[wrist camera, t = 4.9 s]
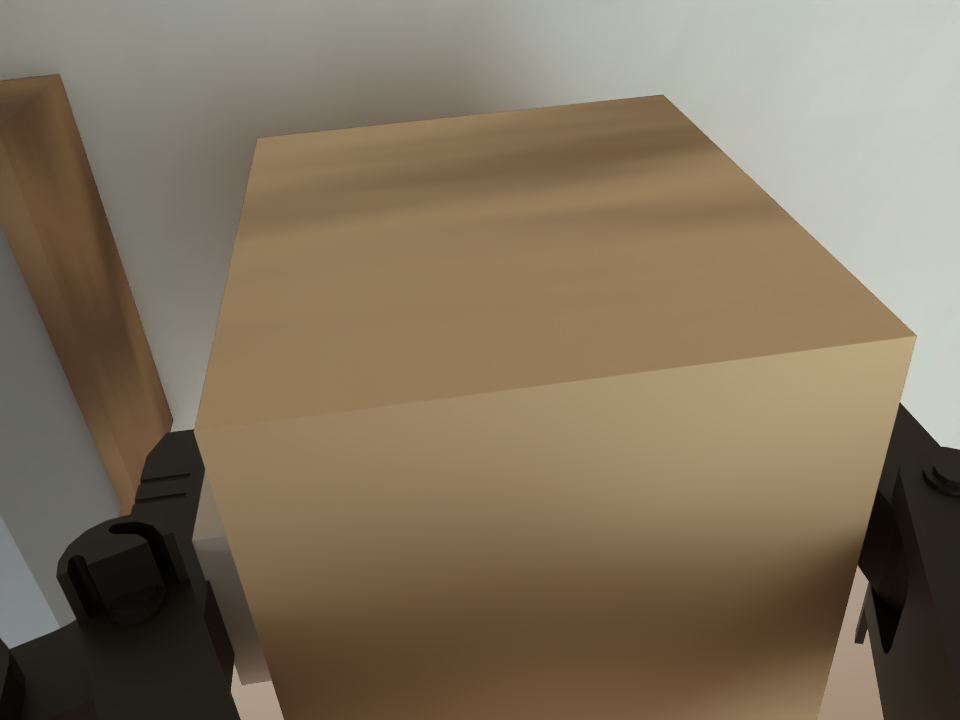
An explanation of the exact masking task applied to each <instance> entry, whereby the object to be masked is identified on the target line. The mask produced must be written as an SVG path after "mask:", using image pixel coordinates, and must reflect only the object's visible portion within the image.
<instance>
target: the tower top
mask: <svg viewBox="0 0 960 720" xmlns="http://www.w3.org/2000/svg"><path fill="white" fill-rule="evenodd" d="M121 507H122V506H121V503H120V501H119V499H118V496H117V494H116V492H115V489H114V487H113V485H112V482H111V480H110V478H109V475H108V473H107V471H106V468H105V466H104V464H103V461H102V459H101V457H100V454H99V452H98V450H97V447H96V445H95V443H94V440H93V438H92V436H91V433H90V431H89V429H88V426H87V424H86V422H85V419H84V417H83V414H82V412H81V410H80V407H79V405H78V403H77V400H76V398H75V396H74V393H73V391H72V389H71V386H70V384H69V382H68V379H67V377H66V375H65V372H64V370H63V368H62V365H61V363H60V361H59V358H58V356H57V354H56V351H55V349H54V347H53V344H52V342H51V340H50V337H49V335H48V333H47V330H46V328H45V326H44V323H43V321H42V319H41V316H40V314H39V312H38V309H37V307H36V305H35V302H34V300H33V298H32V295H31V293H30V291H29V288H28V286H27V284H26V281H25V279H24V276H23V274H22V272H21V269H20V267H19V265H18V262H17V260H16V258H15V255H14V253H13V251H12V248H11V246H10V244H9V241H8V239H7V237H6V234H5V232H4V230H3V227H2V225H1V223H0V638H1V639H2V641H3V642H4V643H5V644H6V645H7V646H8V648H9V649H11V648H13V647H16V646H18V645H21V644H23V643H26V642H28V641H31V640H33V639H36V638H38V637H41V636H43V635H46V634H48V633H51V632H53V631H55V630H57V629H59V628H62V627H64V626H66V625H68V624H70V623H71V622H73V621H74V620H76V617H75V615H74V613H73V611H72V609H71V607H70V605H69V603H68V601H67V599H66V597H65V595H64V592H63V590H62V588H61V586H60V584H59V582H58V580H57V578H56V574H57V566H58V561H59V559H60V558H61V556H62V554H63V553H64V551H65V550H66V548H67V547H68V545H69V544H70V543H72V542H73V541H74V540H75V539H76V538H78V537H79V536H80V535H81V534H82V533H84V532H85V531H86V530H88V529H90V528H92V527H94V526H96V525H98V524H100V523H102V522H104V521H106V520H109V519H113V518H117V517H118V516H119V513H120V510H121Z"/></svg>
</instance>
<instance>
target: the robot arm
mask: <svg viewBox="0 0 960 720" xmlns="http://www.w3.org/2000/svg"><path fill="white" fill-rule="evenodd" d="M134 500H135V505H133V507H132V510H131V514H130V515H126V516H122V517H117V518H113V519H109V520H106V521H104V522H102V523H100V524H98V525H96V526H94V527H92V528H90V529H88V530H86V531H85V532H84V533H82V534H81V535H80V536H79V537H78V538H76V539H75V540H74V541H73V542H72V543H70V544H69V545H68V547H67V548H66V550H65V551H64V553H63V554H62V556H61V558H60V559H59V561H58V566H57V574H56V578H57V580H58V582H59V584H60V586H61V588H62V590H63V592H64V595H65V597H66V599H67V601H68V603H69V605H70V607H71V609H72V611H73V613H74V615H75V617H76V620H74V621H73V622H71V623H70V624H68V625H66V626H64V627H62V628H59V629H57V630H55V631H53V632H51V633H48V634H46V635H43V636H41V637H38V638H36V639H33V640H31V641H28V642H26V643H23V644H21V645H18V646H16V647H13V648H11V649H9V648H8V646H7V645H6V644H5V643H4V642H3V641H2V639H1V638H0V720H241V719H240V717H239V714H238V711H237V708H236V706H235V703H234V700H233V697H232V694H231V683H232V675H233V666H234V664H235V667H236V669H237V672H238V675H239V678H240V681H241V684H242V685H246V684H252V683H259V682H265V681H272V679H271V676H270V673H269V670H268V666H267V663H266V660H265V657H264V654H263V650H262V647H261V644H260V641H259V638H258V635H257V631H256V628H255V625H254V622H253V619H252V616H251V612H250V609H249V606H248V603H247V600H246V597H245V593H244V590H243V587H242V584H241V581H240V577H239V574H238V571H237V568H236V565H235V562H234V558H233V555H232V552H231V549H230V546H229V543H228V539H227V536H226V533H225V530H224V527H223V524H222V520H221V517H220V514H219V511H218V508H217V504H216V501H215V498H214V495H213V492H212V489H211V485H210V482H209V479H208V476H207V473H206V470H205V466H204V463H203V460H202V457H201V454H200V451H199V447H198V444H197V441H196V438H195V435H194V429H192V430H185V431H177V432H170V433H166V434H165V435H164V436H163V437H162V439H161V440H160V441H159V442H158V443H157V444H156V446H155V447H154V448H153V449H152V450H151V452H150V453H149V454H148V455H147V457H146V460H145V464H144V467H143V471H142V475H141V478H140V485H138V489H137V492H136V496H135V499H134ZM858 566H859V568H860V569H861V571H862V572H863V574H864V575H865V576H866V578H867V579H868V581H869V583H868V587H867V591H866V594H865V598H864V602H863V606H862V609H861V613H860V617H859V621H858V624H857V628H856V635H855V643H859V644H863V642H864V638H865V635H866V631H867V629H868V632H869V637H870V643H871V648H872V654H873V660H874V666H875V671H876V677H877V682H878V688H879V694H880V700H881V705H882V711H883V717H884V720H960V450H958V449H953V448H948V447H941V446H940V445H939V444H938V443H937V442H936V441H935V440H934V439H933V438H932V437H931V435H930V434H929V433H928V432H927V431H926V430H925V429H924V428H923V427H922V426H921V425H920V424H919V422H918V421H917V420H916V419H915V418H914V417H913V416H912V415H911V414H910V413H909V412H908V411H907V409H906V408H905V407H904V406H903V405H902V404H901V403H899V407H898V411H897V415H896V419H895V422H894V426H893V430H892V434H891V438H890V442H889V445H888V449H887V453H886V457H885V461H884V465H883V469H882V472H881V476H880V480H879V484H878V488H877V492H876V495H875V499H874V503H873V507H872V511H871V515H870V518H869V522H868V526H867V530H866V534H865V538H864V542H863V545H862V549H861V553H860V557H859V561H858Z"/></svg>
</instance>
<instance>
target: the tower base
mask: <svg viewBox="0 0 960 720" xmlns="http://www.w3.org/2000/svg"><path fill="white" fill-rule="evenodd" d="M0 223H1V225H2V227H3V230H4V232H5V234H6V237H7V239H8V241H9V244H10V246H11V248H12V251H13V253H14V255H15V258H16V260H17V262H18V265H19V267H20V269H21V272H22V274H23V276H24V279H25V281H26V284H27V286H28V288H29V291H30V293H31V295H32V298H33V300H34V302H35V305H36V307H37V309H38V312H39V314H40V316H41V319H42V321H43V323H44V326H45V328H46V330H47V333H48V335H49V337H50V340H51V342H52V344H53V347H54V349H55V351H56V354H57V356H58V358H59V361H60V363H61V365H62V368H63V370H64V372H65V375H66V377H67V379H68V382H69V384H70V386H71V389H72V391H73V393H74V396H75V398H76V400H77V403H78V405H79V407H80V410H81V412H82V414H83V417H84V419H85V422H86V424H87V426H88V429H89V431H90V433H91V436H92V438H93V440H94V443H95V445H96V447H97V450H98V452H99V454H100V457H101V459H102V461H103V464H104V466H105V468H106V471H107V473H108V475H109V478H110V480H111V482H112V485H113V487H114V489H115V492H116V494H117V496H118V499H119V501H120V503H121V506H122V507H121V510H120V513H119V516H118V517H122V516H126V515H130V514H131V510H132V507H133V505H135V500H134V499H135V496H136V492H137V489H138V485H140V478H141V475H142V471H143V467H144V464H145V460H146V457H147V455H148V454H149V453H150V452H151V450H152V449H153V448H154V447H155V446H156V444H157V443H158V442H159V441H160V440H161V439H162V437H163V436H164V435H165V434H166V433H170V430H171V427H172V423H173V418H172V415H171V412H170V409H169V406H168V403H167V400H166V397H165V394H164V391H163V387H162V384H161V381H160V378H159V375H158V372H157V369H156V366H155V363H154V360H153V357H152V354H151V351H150V348H149V345H148V342H147V339H146V336H145V333H144V330H143V327H142V324H141V320H140V317H139V314H138V311H137V308H136V305H135V302H134V299H133V296H132V293H131V290H130V287H129V284H128V281H127V278H126V275H125V272H124V269H123V266H122V263H121V260H120V256H119V253H118V250H117V247H116V244H115V241H114V238H113V235H112V232H111V229H110V226H109V223H108V220H107V217H106V214H105V211H104V208H103V205H102V202H101V199H100V196H99V193H98V189H97V186H96V183H95V180H94V177H93V174H92V171H91V168H90V165H89V162H88V159H87V156H86V153H85V150H84V147H83V144H82V141H81V138H80V135H79V132H78V129H77V126H76V122H75V119H74V116H73V113H72V110H71V107H70V104H69V101H68V98H67V95H66V92H65V89H64V86H63V83H62V80H61V77H60V74H57V75H47V76H38V77H29V78H20V79H10V80H1V81H0Z"/></svg>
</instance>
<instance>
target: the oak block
mask: <svg viewBox="0 0 960 720" xmlns="http://www.w3.org/2000/svg"><path fill="white" fill-rule="evenodd" d="M916 338H917V335H916V334H915V333H914V332H913V331H911V330H910V329H909V328H908V327H907V326H906V325H905V324H904V323H903V322H902V321H901V320H900V319H899V318H898V317H897V316H896V315H895V314H894V313H893V312H891V311H890V310H889V309H888V308H887V307H886V306H885V305H884V304H883V303H882V302H881V301H880V300H879V299H878V298H877V297H876V296H875V295H874V294H873V293H871V292H870V291H869V290H868V289H867V288H866V287H865V286H864V285H863V284H862V283H861V282H860V281H859V280H858V279H857V278H856V277H855V276H854V275H852V274H851V273H850V272H849V271H848V270H847V269H846V268H845V267H844V266H843V265H842V264H841V263H840V262H839V261H838V260H837V259H836V258H835V257H834V256H832V255H831V254H830V253H829V252H828V251H827V250H826V249H825V248H824V247H823V246H822V245H821V244H820V243H819V242H818V241H817V240H816V239H815V238H814V237H812V236H811V235H810V234H809V233H808V232H807V231H806V230H805V229H804V228H803V227H802V226H801V225H800V224H799V223H798V222H797V221H796V220H795V219H794V218H792V217H791V216H790V215H789V214H788V213H787V212H786V211H785V210H784V209H783V208H782V207H781V206H780V205H779V204H778V203H777V202H776V201H775V200H774V199H772V198H771V197H770V196H769V195H768V194H767V193H766V192H765V191H764V190H763V189H762V188H761V187H760V186H759V185H758V184H757V183H756V182H755V181H753V180H752V179H751V178H750V177H749V176H748V175H747V174H746V173H745V172H744V171H743V170H742V169H741V168H740V167H739V166H738V165H737V164H736V163H735V162H733V161H732V160H731V159H730V158H729V157H728V156H727V155H726V154H725V153H724V152H723V151H722V150H721V149H720V148H719V147H718V146H717V145H716V144H715V143H713V142H712V141H711V140H710V139H709V138H708V137H707V136H706V135H705V134H704V133H703V132H702V131H701V130H700V129H699V128H698V127H697V126H696V125H695V124H693V123H692V122H691V121H690V120H689V119H688V118H687V117H686V116H685V115H684V114H683V113H682V112H681V111H680V110H679V109H678V108H677V107H676V106H675V105H673V104H672V103H671V102H670V101H669V100H668V99H667V98H666V97H665V96H664V95H655V96H646V97H637V98H627V99H618V100H609V101H599V102H590V103H580V104H571V105H562V106H552V107H543V108H534V109H524V110H515V111H505V112H496V113H487V114H477V115H468V116H459V117H449V118H440V119H430V120H421V121H412V122H402V123H393V124H384V125H374V126H365V127H356V128H346V129H337V130H327V131H318V132H309V133H299V134H290V135H281V136H271V137H262V138H257V142H256V147H255V151H254V156H253V161H252V165H251V170H250V175H249V179H248V184H247V188H246V193H245V198H244V202H243V207H242V211H241V216H240V221H239V225H238V230H237V234H236V239H235V244H234V248H233V253H232V257H231V262H230V267H229V271H228V276H227V280H226V285H225V290H224V294H223V299H222V303H221V308H220V313H219V317H218V322H217V326H216V331H215V336H214V340H213V345H212V350H211V354H210V359H209V363H208V368H207V373H206V377H205V382H204V386H203V391H202V396H201V400H200V405H199V409H198V414H197V419H196V423H195V428H194V435H195V438H196V441H197V444H198V447H199V451H200V454H201V457H202V460H203V463H204V466H205V470H206V473H207V476H208V479H209V482H210V485H211V489H212V492H213V495H214V498H215V501H216V504H217V508H218V511H219V514H220V517H221V520H222V524H223V527H224V530H225V533H226V536H227V539H228V543H229V546H230V549H231V552H232V555H233V558H234V562H235V565H236V568H237V571H238V574H239V577H240V581H241V584H242V587H243V590H244V593H245V597H246V600H247V603H248V606H249V609H250V612H251V616H252V619H253V622H254V625H255V628H256V631H257V635H258V638H259V641H260V644H261V647H262V650H263V654H264V657H265V660H266V663H267V666H268V670H269V673H270V676H271V679H272V682H273V685H274V688H275V692H276V695H277V698H278V701H279V704H280V707H281V711H282V714H283V717H284V720H817V718H818V714H819V710H820V707H821V702H822V698H823V695H824V691H825V687H826V684H827V680H828V676H829V672H830V668H831V664H832V661H833V657H834V653H835V649H836V645H837V641H838V638H839V633H840V630H841V626H842V622H843V618H844V615H845V610H846V607H847V603H848V599H849V595H850V591H851V588H852V584H853V580H854V576H855V572H856V568H857V565H858V561H859V557H860V553H861V549H862V545H863V542H864V538H865V534H866V530H867V526H868V522H869V518H870V515H871V511H872V507H873V503H874V499H875V495H876V492H877V488H878V484H879V480H880V476H881V472H882V469H883V465H884V461H885V457H886V453H887V449H888V445H889V442H890V438H891V434H892V430H893V426H894V422H895V419H896V415H897V411H898V407H899V403H900V399H901V395H902V392H903V388H904V384H905V380H906V376H907V372H908V369H909V365H910V361H911V357H912V353H913V349H914V346H915V342H916Z"/></svg>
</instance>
